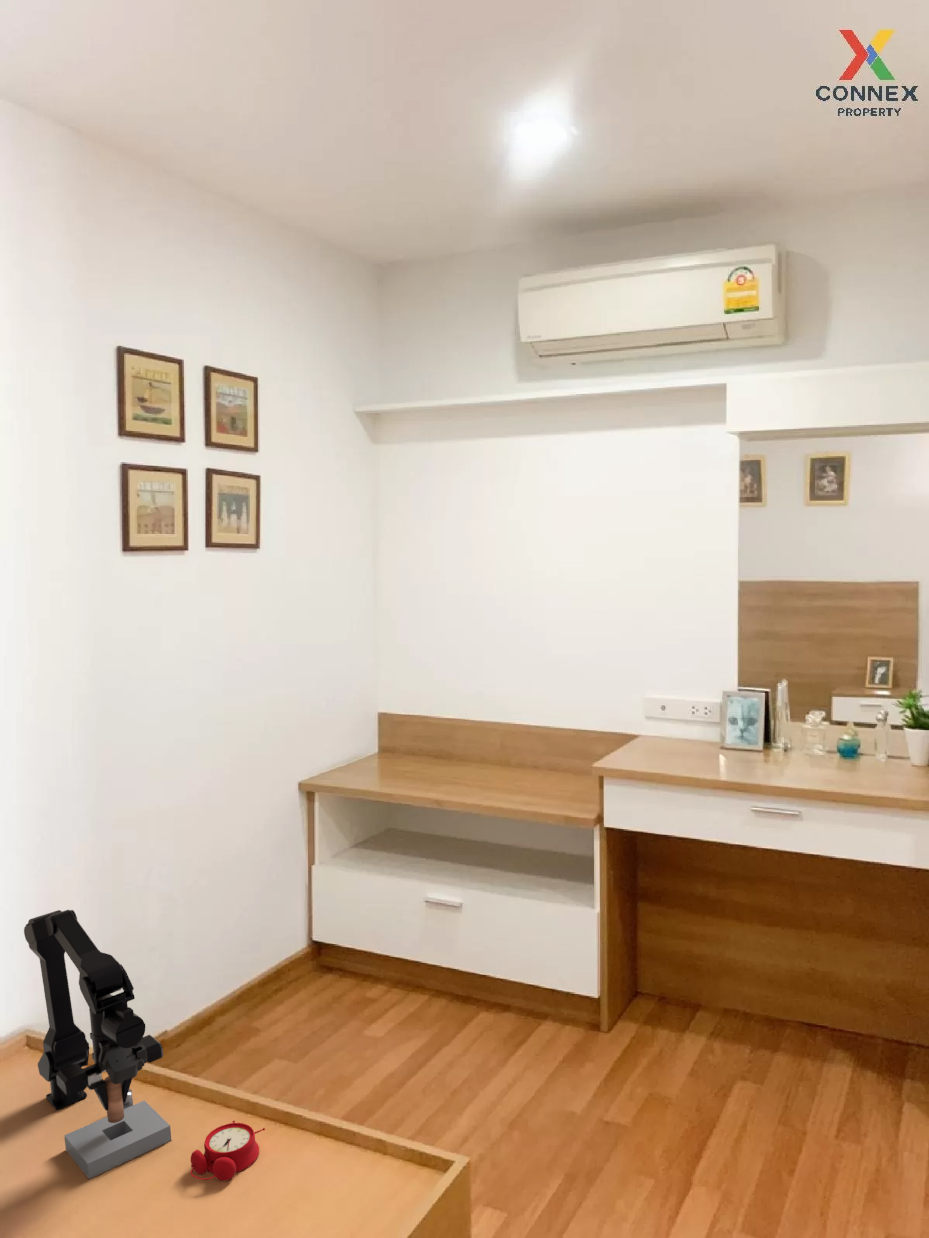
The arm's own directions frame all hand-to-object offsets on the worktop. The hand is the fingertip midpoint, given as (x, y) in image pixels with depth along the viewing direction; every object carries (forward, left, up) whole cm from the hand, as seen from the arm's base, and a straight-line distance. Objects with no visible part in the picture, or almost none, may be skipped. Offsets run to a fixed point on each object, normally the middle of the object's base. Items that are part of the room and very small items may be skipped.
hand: (114, 1105), depth 193 cm
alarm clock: (+20, +12, -8) cm, 25 cm away
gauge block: (0, 0, -8) cm, 8 cm away
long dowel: (0, 0, -2) cm, 2 cm away
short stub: (-10, +6, -8) cm, 14 cm away
